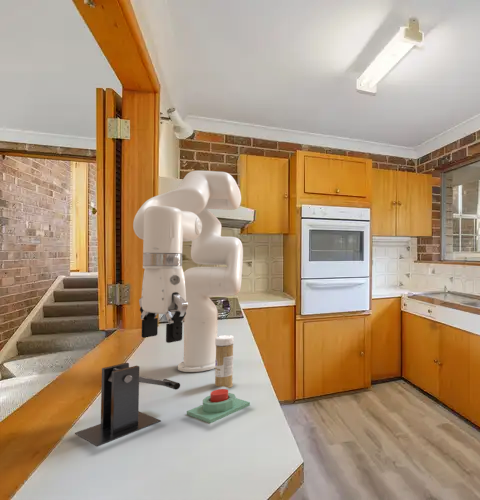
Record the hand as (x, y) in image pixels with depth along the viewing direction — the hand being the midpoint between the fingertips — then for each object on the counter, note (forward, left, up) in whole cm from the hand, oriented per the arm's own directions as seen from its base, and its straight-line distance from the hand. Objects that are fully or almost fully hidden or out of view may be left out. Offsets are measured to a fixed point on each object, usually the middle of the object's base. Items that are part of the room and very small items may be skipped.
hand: (161, 338), depth 77 cm
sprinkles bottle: (-17, -2, -17) cm, 24 cm away
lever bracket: (+9, +1, -17) cm, 19 cm away
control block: (-6, +11, -17) cm, 21 cm away
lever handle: (+4, +1, -9) cm, 10 cm away
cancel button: (-6, +11, -13) cm, 19 cm away
